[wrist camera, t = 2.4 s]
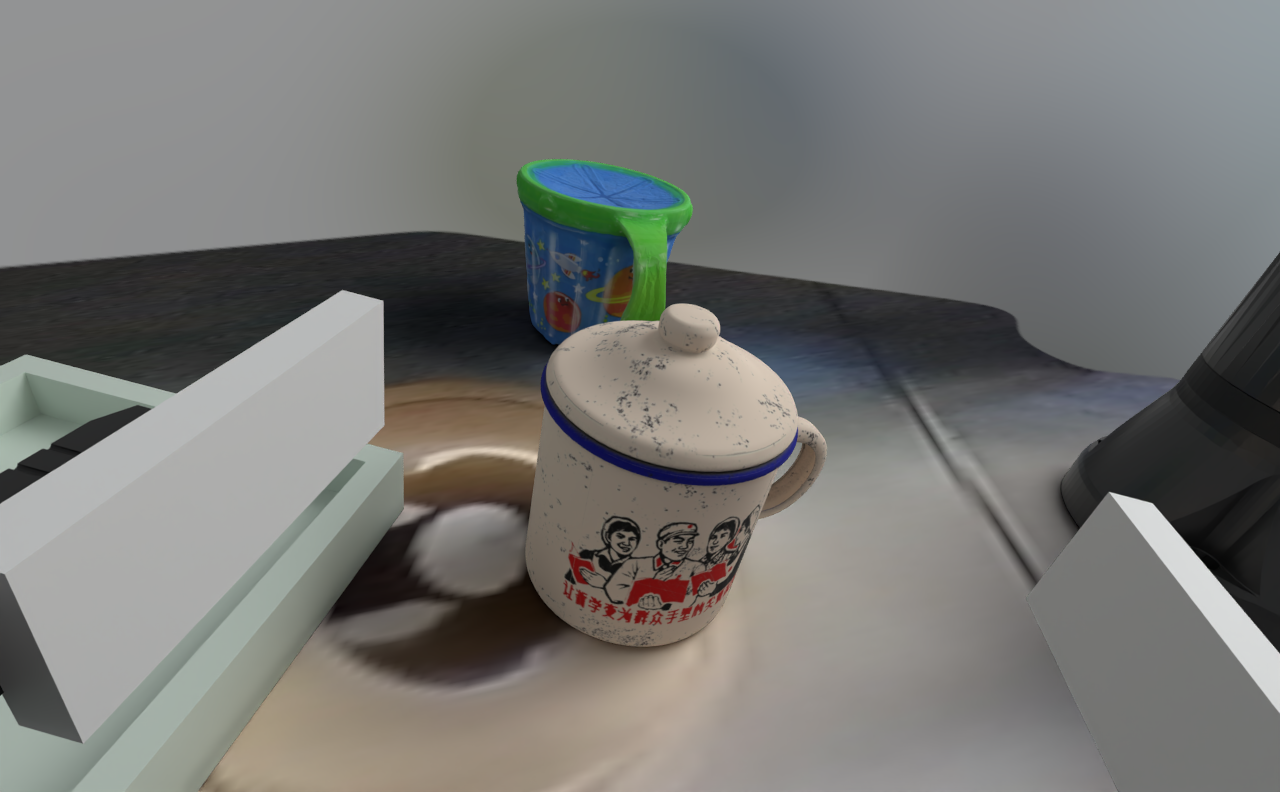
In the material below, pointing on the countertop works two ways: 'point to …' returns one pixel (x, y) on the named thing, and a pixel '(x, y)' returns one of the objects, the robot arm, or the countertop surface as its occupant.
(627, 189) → the snack cup
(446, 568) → the countertop surface
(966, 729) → the countertop surface
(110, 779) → the sage tray
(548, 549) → the teacup with lid
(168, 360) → the countertop surface
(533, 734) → the countertop surface
